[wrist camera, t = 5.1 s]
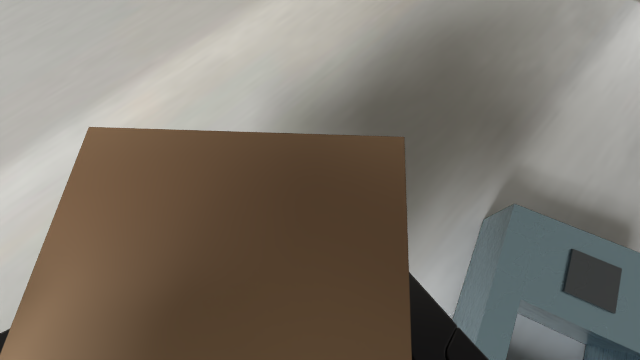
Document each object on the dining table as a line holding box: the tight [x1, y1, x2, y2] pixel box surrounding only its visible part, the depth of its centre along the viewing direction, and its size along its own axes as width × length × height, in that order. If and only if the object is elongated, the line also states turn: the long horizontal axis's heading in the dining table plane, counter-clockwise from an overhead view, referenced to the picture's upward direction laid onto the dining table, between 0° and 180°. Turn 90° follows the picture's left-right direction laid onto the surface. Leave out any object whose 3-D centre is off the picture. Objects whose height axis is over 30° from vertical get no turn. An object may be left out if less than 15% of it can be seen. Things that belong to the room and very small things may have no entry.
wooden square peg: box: [0, 127, 412, 360], centre depth 9 cm, size 4×4×12 cm
